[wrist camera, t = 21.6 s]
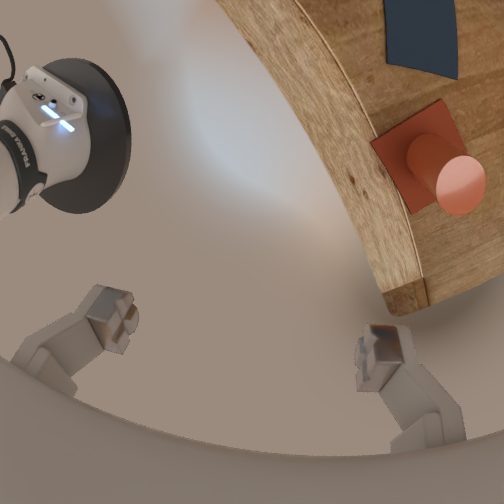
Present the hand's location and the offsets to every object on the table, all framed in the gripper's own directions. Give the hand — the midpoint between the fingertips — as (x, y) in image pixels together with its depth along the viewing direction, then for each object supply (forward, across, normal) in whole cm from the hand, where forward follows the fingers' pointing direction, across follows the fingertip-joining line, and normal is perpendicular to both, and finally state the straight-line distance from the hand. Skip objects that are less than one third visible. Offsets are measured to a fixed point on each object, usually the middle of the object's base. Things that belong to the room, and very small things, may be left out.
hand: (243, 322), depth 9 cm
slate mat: (+29, -15, -26) cm, 42 cm away
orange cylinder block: (+29, -19, 0) cm, 34 cm away
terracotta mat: (+29, -19, 0) cm, 35 cm away
